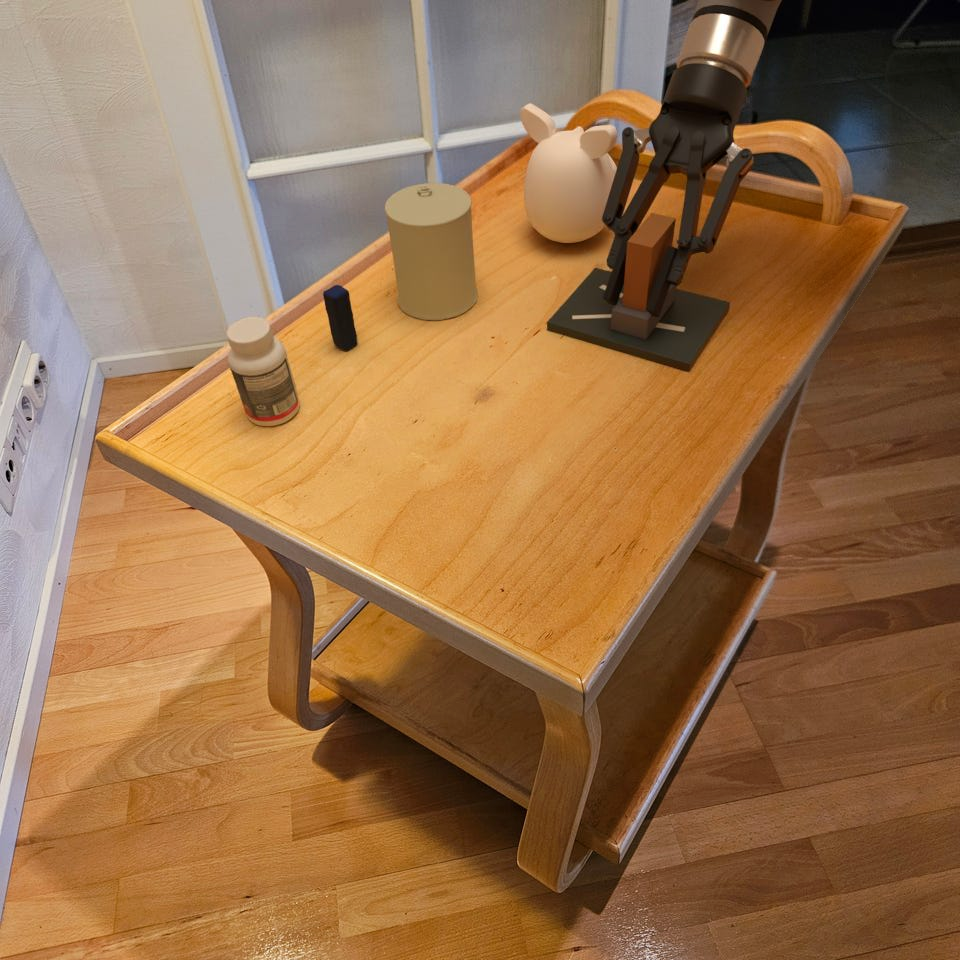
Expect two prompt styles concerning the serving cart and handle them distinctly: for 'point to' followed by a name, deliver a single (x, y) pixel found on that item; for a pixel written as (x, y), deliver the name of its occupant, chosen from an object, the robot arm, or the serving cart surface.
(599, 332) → the slate board
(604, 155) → the piggy bank
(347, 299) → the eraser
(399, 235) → the can
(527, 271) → the serving cart surface
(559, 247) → the serving cart surface
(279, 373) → the pill bottle
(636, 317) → the chalk eraser
